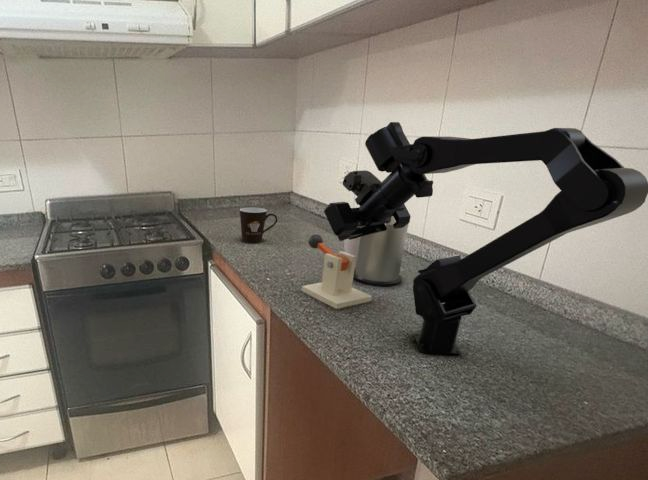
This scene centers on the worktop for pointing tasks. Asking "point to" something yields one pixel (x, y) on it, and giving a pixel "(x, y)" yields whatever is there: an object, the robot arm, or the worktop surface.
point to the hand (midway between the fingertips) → (344, 238)
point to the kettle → (381, 257)
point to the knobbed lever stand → (337, 283)
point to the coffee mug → (253, 224)
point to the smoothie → (352, 247)
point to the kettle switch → (326, 249)
